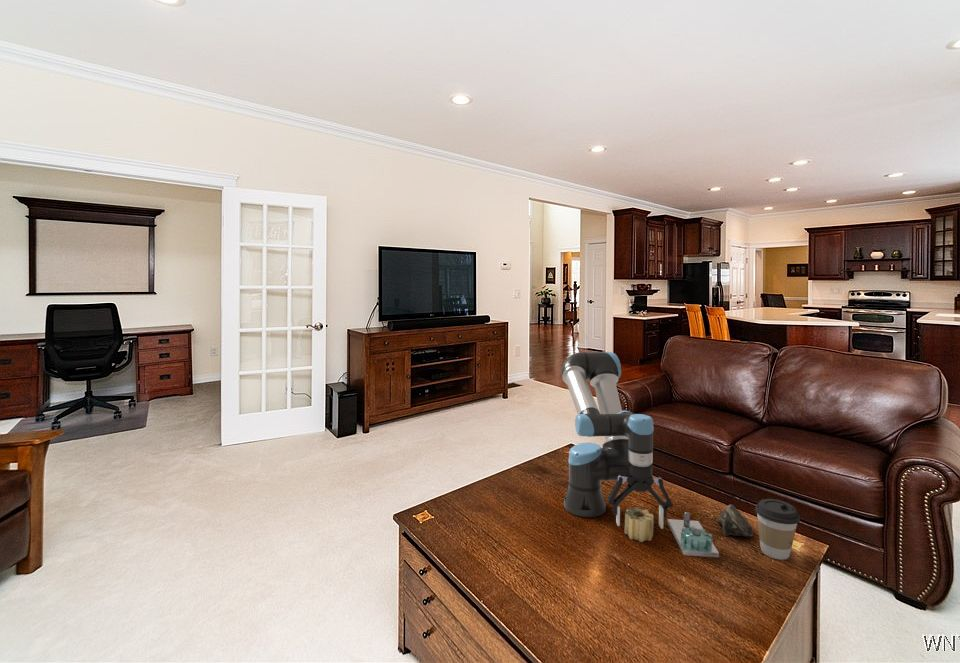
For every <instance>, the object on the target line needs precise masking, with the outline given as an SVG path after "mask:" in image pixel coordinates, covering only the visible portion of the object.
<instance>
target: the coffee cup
mask: <svg viewBox="0 0 960 663" xmlns="http://www.w3.org/2000/svg"><path fill="white" fill-rule="evenodd" d="M754 510H755V513H756V516H757V524H758V535H759V545H760V549H761V552H762V553H763V554H764V555H766V556H767V557H769V558H772V559H775V560H780V561H781V560H782V561H785V560H788V559H789V557H790V556H791V552H792V547H793V543H794V539H795V534H796V530H797V526H798V524H799V523H800V521H801V518H800V517H801V515H800V514H799V512H798V510H797V509H796V508H795V506H793V505H792V504H790V503H788V502H787V501H783V500H779V499H774V498H765V499H764V498H763V499H761V500H759V501H758V503H756V505H755V508H754Z"/></svg>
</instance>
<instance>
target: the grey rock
mask: <svg viewBox="0 0 960 663" xmlns="http://www.w3.org/2000/svg"><path fill="white" fill-rule="evenodd" d="M716 522H717V523H718V524H721V526H722V528H721V529H722V535H724V536H730V535H732V536H735V537H737V536H742V537H745V538H746V539H748V538H753V536H754V534H753V532H754V531H753V528H752V526H751V524H750V522H749V520H748V519H747V518H746V517H745V516H743V515H742V513H741V512H740V511H739V510H738V508H736V507H735V506H734V505H733V504H728V505H727V506H726V508H725V509H723V511H722V512H721V514H720V515H719V516H718V518H717V521H716Z"/></svg>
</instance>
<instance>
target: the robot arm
mask: <svg viewBox="0 0 960 663" xmlns="http://www.w3.org/2000/svg"><path fill="white" fill-rule="evenodd" d="M620 361H621V360H620V359H619V357H618V355H617V354H616V353H615V352H612V351H605V350H603V351H596V352H595V351H589V352H582V351H579V352H575V353H573V354H570V356H568V357H567V358H566V359H565V360H564V362H563V363H562V366H561V368H560V372H561V378H562V381H563V382H564V383H565V384H566V385H567V388H568V391H569V394H570V396H571V399H572V401H573V405H574V408H575V410H576V413H577V415H576V416H575V419H574V426H575V432H576V434H577V435H578V436H579V437H587V438H592V437H604V442H603V443H602V446H601V445H600V444H598V443H595V442H581V443H578V444H575V445H573V446H572V447H571V448H570V449H569V453H568V460H567V461H568V462H567V463H568V487H567V489H566V493H565V496H564V499H563V506H564V509H565V510H566V511H567V512H568V513H570V514H572V515H575V516H577V517H583V518H595V517H600V516H602V515H603V514H604V513H605V512H606V509H607V508H606V507H607V506H606V505H607V504H609V505H612V512H613V515H614V516H615V522H616V525H617V526H618V527H620V526H621V506H620V504H621V503H622V501H624V500H625V499H626V497H627V496H629V495H630V494H632V492H633V491H635V492H644V493H646V492H647V491H648V492H649V494H651V496H652V497H654V499H655V500H656V501H657V502H658V504H659V505H658V526H659V528H660V529H662V530H663V529H664V519H667V517H668V510H669V508H674V504H673V502H672V500H671V498H670V496H669V494H668V492H667V490H666V488H665V487H664V480H663V478H662V477H661V476H657V477H653V466H654V465H653V464H654V463H653V461H654V460H653V459H654V458H653V455H654V454H653V453H654V452H653V451H654V430H655V428H654V419H653V418H652V416H650V415H647V414H642V413H633V412H632V411H629V410H622V405H621V401H620V396H619V392H618V388H617V383H618V382H619V379H620V378H621V376H622V368H621V367H622V366H621V362H620ZM587 381H589V383H588V382H587ZM589 384H590V386H592V387H593V388H594V390H595V395H596V399H597V402H596V401H595V399H594V396H593V394H592V391H591V388H590V386H589ZM615 481H616V483H615V484H614V486H613V488H612V490H611V491H610V493H609V495H608V496H607V497H606V498H607V503H606V499H605V498H604V495H603V491H602V490H603V489H602V482H615ZM625 482H627V484H626V486H625V487H624V488H623V489H622V490H621V488H622V486H623V484H625ZM654 483H655V484H656V486H658V487H659V490H660V492H661V493H662V495H663V497H664V499H665V501H664V500H663V498H661V497H660V495H659V494H658V493H657V492H656V490H655V489H654V488H653V487H652V485H654ZM620 490H621V491H620Z"/></svg>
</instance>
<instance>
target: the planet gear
mask: <svg viewBox="0 0 960 663" xmlns="http://www.w3.org/2000/svg"><path fill="white" fill-rule="evenodd" d="M649 511H650V510H648V509H642V508H639V507H634V508H627V509H626V511H625V512H624V534H625V535H627V536H628V538H629V540H635V541H638V542H639V543H644V541H645V542H646V541H649V542H650V541H652V540H653V537H654V514H653V513H650V512H649Z"/></svg>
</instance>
